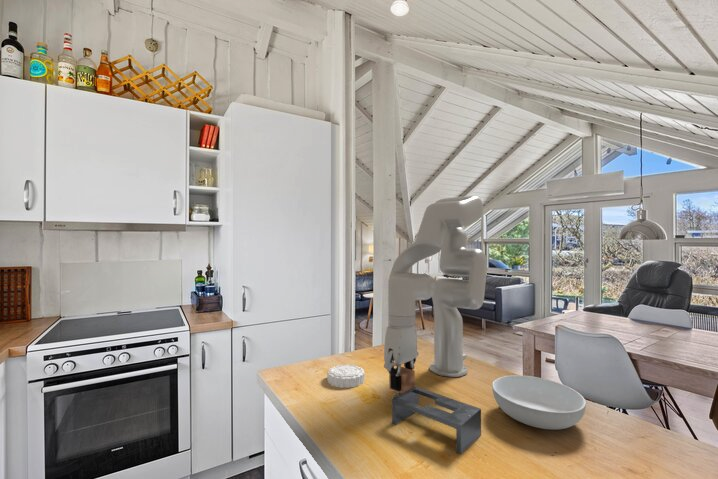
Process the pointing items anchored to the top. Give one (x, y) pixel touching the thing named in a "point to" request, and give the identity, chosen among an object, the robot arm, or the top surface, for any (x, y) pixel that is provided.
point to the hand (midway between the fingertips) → (402, 385)
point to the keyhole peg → (404, 380)
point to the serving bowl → (539, 401)
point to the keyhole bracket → (441, 414)
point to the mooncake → (346, 376)
